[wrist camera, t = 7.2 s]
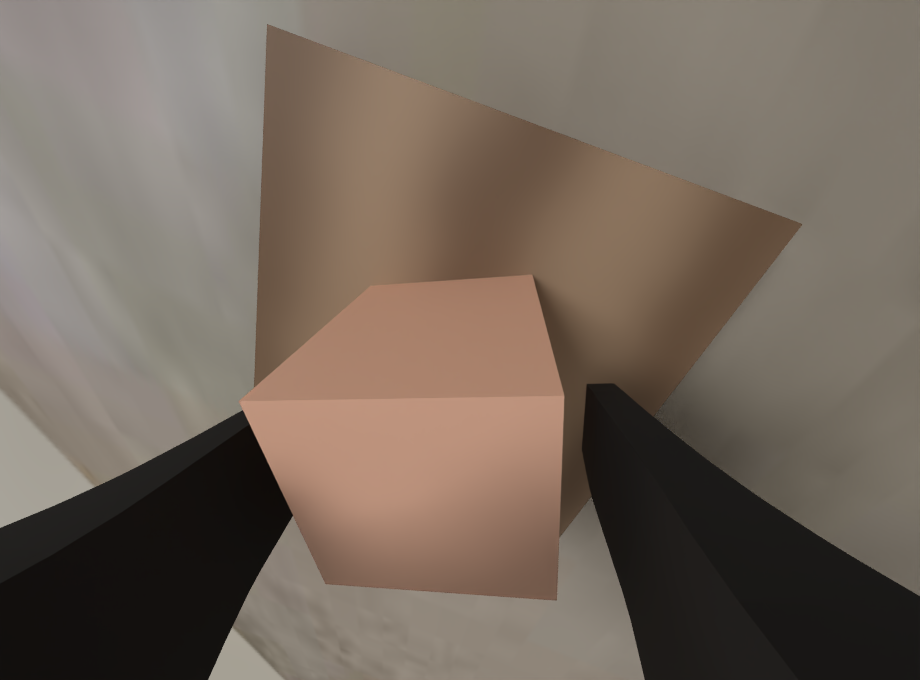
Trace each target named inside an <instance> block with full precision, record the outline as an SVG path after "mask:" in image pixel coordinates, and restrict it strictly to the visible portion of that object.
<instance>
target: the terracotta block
mask: <svg viewBox="0 0 920 680" xmlns="http://www.w3.org/2000/svg"><path fill="white" fill-rule="evenodd" d="M239 403H240V405H241V407H242V409H243V411H244V413H245V415H246V418H247V420H248V422H249V424H250V426H251V428H252V430H253V432H254V434H255V436H256V439H257V441H258V443H259V445H260V447H261V449H262V451H263V453H264V455H265V457H266V460H267V462H268V464H269V466H270V468H271V470H272V472H273V474H274V476H275V479H276V481H277V483H278V485H279V487H280V489H281V491H282V493H283V495H284V497H285V500H286V502H287V504H288V506H289V508H290V510H291V512H292V514H293V516H294V518H295V521H296V523H297V525H298V527H299V529H300V531H301V533H302V535H303V537H304V540H305V542H306V544H307V546H308V548H309V550H310V552H311V554H312V556H313V558H314V561H315V563H316V565H317V567H318V569H319V571H320V573H321V575H322V577H323V580H324V582H325V584H332V585H346V586H360V587H374V588H388V589H402V590H416V591H430V592H444V593H458V594H473V595H487V596H501V597H515V598H529V599H543V600H557V583H558V556H559V529H560V502H561V475H562V448H563V421H564V392H563V389H562V385H561V381H560V377H559V374H558V370H557V366H556V362H555V358H554V355H553V351H552V347H551V343H550V339H549V336H548V332H547V328H546V324H545V321H544V317H543V313H542V309H541V305H540V302H539V298H538V294H537V290H536V287H535V283H534V279H533V275H520V276H505V277H491V278H476V279H462V280H447V281H433V282H418V283H404V284H389V285H375V286H370V287H369V288H367V289H366V290H365V291H364V292H363V293H362V294H361V295H359V296H358V297H357V298H356V299H355V300H354V301H353V302H351V303H350V304H349V305H348V306H347V307H346V308H345V309H343V310H342V311H341V312H340V313H339V314H338V315H337V316H335V317H334V318H333V319H332V320H331V321H330V322H329V323H327V324H326V325H325V326H324V327H323V328H322V329H321V330H320V331H318V332H317V333H316V334H315V335H314V336H313V337H312V338H310V339H309V340H308V341H307V342H306V343H305V344H304V345H302V346H301V347H300V348H299V349H298V350H297V351H296V352H294V353H293V354H292V355H291V356H290V357H289V358H288V359H286V360H285V361H284V362H283V363H282V364H281V365H280V366H278V367H277V368H276V369H275V370H274V371H273V372H272V373H270V374H269V375H268V376H267V377H266V378H265V379H264V380H262V381H261V382H260V383H259V384H258V385H257V386H256V387H254V388H253V389H252V390H251V391H250V392H249V393H248V394H246V395H245V396H244V397H243V398H242V399H241V400H240V401H239Z"/></svg>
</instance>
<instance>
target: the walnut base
mask: <svg viewBox="0 0 920 680" xmlns="http://www.w3.org/2000/svg"><path fill="white" fill-rule="evenodd" d="M801 226H802V224H801V223H798V222H795V221H793V220H790V219H787V218H785V217H782V216H779V215H777V214H774V213H771V212H769V211H766V210H763V209H761V208H758V207H755V206H753V205H750V204H747V203H745V202H742V201H739V200H736V199H734V198H731V197H728V196H726V195H723V194H720V193H718V192H715V191H712V190H710V189H707V188H704V187H702V186H699V185H696V184H694V183H691V182H688V181H686V180H683V179H680V178H678V177H675V176H672V175H670V174H667V173H664V172H662V171H659V170H656V169H654V168H651V167H648V166H645V165H643V164H640V163H637V162H635V161H632V160H629V159H627V158H624V157H621V156H619V155H616V154H613V153H611V152H608V151H605V150H603V149H600V148H597V147H595V146H592V145H589V144H587V143H584V142H581V141H579V140H576V139H573V138H571V137H568V136H565V135H562V134H560V133H557V132H554V131H552V130H549V129H546V128H544V127H541V126H538V125H536V124H533V123H530V122H528V121H525V120H522V119H520V118H517V117H514V116H512V115H509V114H506V113H504V112H501V111H498V110H496V109H493V108H490V107H488V106H485V105H482V104H480V103H477V102H474V101H471V100H469V99H466V98H463V97H461V96H458V95H455V94H453V93H450V92H447V91H445V90H442V89H439V88H437V87H434V86H431V85H429V84H426V83H423V82H421V81H418V80H415V79H413V78H410V77H407V76H405V75H402V74H399V73H397V72H394V71H391V70H389V69H386V68H383V67H380V66H378V65H375V64H372V63H370V62H367V61H364V60H362V59H359V58H356V57H354V56H351V55H348V54H346V53H343V52H340V51H338V50H335V49H332V48H330V47H327V46H324V45H322V44H319V43H316V42H314V41H311V40H308V39H306V38H303V37H300V36H298V35H295V34H292V33H289V32H287V31H284V30H281V29H279V28H276V27H273V26H271V25H268V24H267V42H266V70H265V98H264V126H263V154H262V182H261V210H260V238H259V266H258V294H257V322H256V349H255V377H254V387H256V386H257V385H258V384H259V383H260V382H261V381H262V380H264V379H265V378H266V377H267V376H268V375H269V374H270V373H272V372H273V371H274V370H275V369H276V368H277V367H278V366H280V365H281V364H282V363H283V362H284V361H285V360H286V359H288V358H289V357H290V356H291V355H292V354H293V353H294V352H296V351H297V350H298V349H299V348H300V347H301V346H302V345H304V344H305V343H306V342H307V341H308V340H309V339H310V338H312V337H313V336H314V335H315V334H316V333H317V332H318V331H320V330H321V329H322V328H323V327H324V326H325V325H326V324H327V323H329V322H330V321H331V320H332V319H333V318H334V317H335V316H337V315H338V314H339V313H340V312H341V311H342V310H343V309H345V308H346V307H347V306H348V305H349V304H350V303H351V302H353V301H354V300H355V299H356V298H357V297H358V296H359V295H361V294H362V293H363V292H364V291H365V290H366V289H367V288H369V287H370V286H375V285H389V284H404V283H418V282H433V281H447V280H462V279H476V278H491V277H505V276H520V275H533V279H534V283H535V287H536V290H537V294H538V298H539V302H540V305H541V309H542V313H543V317H544V321H545V324H546V328H547V332H548V336H549V339H550V343H551V347H552V351H553V355H554V358H555V362H556V366H557V370H558V374H559V377H560V381H561V385H562V389H563V392H564V421H563V448H562V475H561V502H560V529H559V537H560V536H561V535H562V534H563V532H564V531H565V530H566V528H567V527H568V526H569V524H570V523H571V522H572V521H573V519H574V518H575V517H576V515H577V514H578V513H579V512H580V510H581V509H582V508H583V506H584V505H585V504H586V503H587V501H588V500H589V499H590V497H591V496H592V495H591V492H590V489H589V484H588V479H587V474H586V469H585V464H584V459H583V454H582V438H583V425H584V412H585V399H586V386H587V384H603V383H614V384H615V385H617V386H618V387H619V388H620V389H621V390H623V391H624V392H625V393H626V394H627V395H629V396H630V397H631V398H632V399H633V400H634V401H635V402H637V403H638V404H639V405H640V406H641V407H642V408H644V409H645V410H646V411H647V412H648V413H649V414H651V415H652V416H654V415H655V414H656V412H657V411H658V410H659V409H660V407H661V406H662V405H663V403H664V402H665V401H666V400H667V398H668V397H669V396H670V394H671V393H672V392H673V390H674V389H675V388H676V387H677V385H678V384H679V383H680V381H681V380H682V379H683V378H684V376H685V375H686V374H687V372H688V371H689V370H690V369H691V367H692V366H693V365H694V363H695V362H696V361H697V360H698V358H699V357H700V356H701V354H702V353H703V352H704V351H705V349H706V348H707V347H708V345H709V344H710V343H711V342H712V340H713V339H714V338H715V336H716V335H717V334H718V332H719V331H720V330H721V329H722V327H723V326H724V325H725V323H726V322H727V321H728V320H729V318H730V317H731V316H732V314H733V313H734V312H735V311H736V309H737V308H738V307H739V305H740V304H741V303H742V302H743V300H744V299H745V298H746V296H747V295H748V294H749V293H750V291H751V290H752V289H753V287H754V286H755V285H756V284H757V282H758V281H759V280H760V278H761V277H762V276H763V275H764V273H765V272H766V271H767V269H768V268H769V267H770V265H771V264H772V263H773V262H774V260H775V259H776V258H777V256H778V255H779V254H780V253H781V251H782V250H783V249H784V247H785V246H786V245H787V244H788V242H789V241H790V240H791V238H792V237H793V236H794V235H795V233H796V232H797V231H798V229H799V228H800V227H801Z"/></svg>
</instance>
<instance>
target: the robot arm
mask: <svg viewBox="0 0 920 680" xmlns="http://www.w3.org/2000/svg"><path fill="white" fill-rule="evenodd" d="M582 454H583V459H584V464H585V469H586V474H587V479H588V484H589V489H590V492H591V495H592V499H593V502H594V505H595V508H596V511H597V514H598V518H599V521H600V524H601V527H602V530H603V533H604V536H605V539H606V542H607V545H608V548H609V551H610V555H611V558H612V561H613V564H614V567H615V570H616V573H617V576H618V579H619V582H620V585H621V588H622V592H623V595H624V598H625V602H626V605H627V609H628V612H629V616H630V619H631V623H632V627H633V631H634V636H635V640H636V644H637V648H638V652H639V657H640V661H641V665H642V669H643V674H644V678H645V680H920V596H918V595H917V594H915V593H913V592H912V591H910V590H908V589H906V588H905V587H903V586H901V585H900V584H898V583H896V582H894V581H893V580H891V579H889V578H888V577H886V576H884V575H882V574H881V573H879V572H877V571H876V570H874V569H872V568H871V567H869V566H867V565H865V564H864V563H862V562H860V561H859V560H857V559H855V558H854V557H852V556H850V555H849V554H847V553H845V552H844V551H842V550H841V549H839V548H837V547H836V546H834V545H832V544H831V543H829V542H827V541H826V540H824V539H823V538H821V537H819V536H818V535H816V534H815V533H813V532H812V531H810V530H809V529H807V528H806V527H804V526H802V525H801V524H799V523H798V522H796V521H795V520H793V519H792V518H790V517H789V516H787V515H786V514H784V513H782V512H781V511H779V510H778V509H776V508H775V507H773V506H772V505H770V504H769V503H767V502H766V501H764V500H763V499H761V498H760V497H758V496H757V495H755V494H754V493H752V492H751V491H750V490H748V489H747V488H745V487H744V486H742V485H741V484H740V483H738V482H737V481H736V480H734V479H733V478H731V477H730V476H729V475H727V474H726V473H725V472H723V471H722V470H720V469H719V468H718V467H716V466H715V465H714V464H712V463H711V462H709V461H708V460H707V459H705V458H704V457H703V456H702V455H700V454H699V453H698V452H696V451H695V450H694V449H692V448H691V447H690V446H689V445H687V444H686V443H685V442H684V441H682V440H681V439H680V438H679V437H677V436H676V435H675V434H674V433H672V432H671V431H670V430H669V429H667V428H666V427H665V426H664V425H663V424H661V423H660V422H659V421H658V420H657V419H655V418H654V417H653V416H652V415H651V414H649V413H648V412H647V411H646V410H645V409H644V408H642V407H641V406H640V405H639V404H638V403H637V402H635V401H634V400H633V399H632V398H631V397H630V396H629V395H627V394H626V393H625V392H624V391H623V390H621V389H620V388H619V387H618V386H617V385H615V384H614V383H603V384H587V386H586V399H585V412H584V425H583V438H582ZM292 516H293V514H292V512H291V510H290V508H289V506H288V504H287V502H286V500H285V497H284V495H283V493H282V491H281V489H280V487H279V485H278V483H277V481H276V479H275V476H274V474H273V472H272V470H271V468H270V466H269V464H268V462H267V460H266V457H265V455H264V453H263V451H262V449H261V447H260V445H259V443H258V441H257V439H256V436H255V434H254V432H253V430H252V428H251V426H250V424H249V422H248V420H247V418H246V415H245V413H244V411H243V410H242V411H241V412H239V413H237V414H235V415H233V416H231V417H230V418H228V419H226V420H224V421H222V422H221V423H219V424H217V425H215V426H213V427H212V428H210V429H208V430H206V431H204V432H203V433H201V434H199V435H197V436H195V437H193V438H192V439H190V440H188V441H186V442H184V443H182V444H180V445H178V446H176V447H174V448H173V449H171V450H169V451H167V452H165V453H163V454H161V455H159V456H157V457H155V458H153V459H152V460H150V461H148V462H146V463H144V464H142V465H140V466H138V467H136V468H134V469H132V470H130V471H128V472H126V473H124V474H122V475H120V476H118V477H116V478H114V479H112V480H110V481H107V482H105V483H103V484H101V485H99V486H97V487H95V488H92V489H90V490H88V491H86V492H84V493H81V494H79V495H77V496H75V497H73V498H71V499H68V500H66V501H64V502H62V503H59V504H57V505H55V506H52V507H50V508H48V509H45V510H43V511H40V512H38V513H36V514H33V515H31V516H28V517H26V518H24V519H21V520H19V521H16V522H14V523H11V524H9V525H6V526H4V527H2V528H0V680H208V678H209V676H210V674H211V672H212V669H213V667H214V665H215V663H216V661H217V658H218V656H219V654H220V652H221V650H222V647H223V645H224V643H225V641H226V639H227V636H228V634H229V632H230V630H231V628H232V626H233V624H234V622H235V620H236V618H237V616H238V614H239V611H240V609H241V607H242V605H243V603H244V601H245V599H246V597H247V595H248V593H249V591H250V589H251V587H252V585H253V583H254V582H255V580H256V578H257V576H258V574H259V572H260V571H261V569H262V567H263V565H264V564H265V562H266V560H267V559H268V557H269V555H270V554H271V552H272V550H273V548H274V547H275V545H276V543H277V542H278V540H279V538H280V537H281V535H282V533H283V531H284V530H285V528H286V526H287V525H288V523H289V521H290V520H291V518H292Z"/></svg>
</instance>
